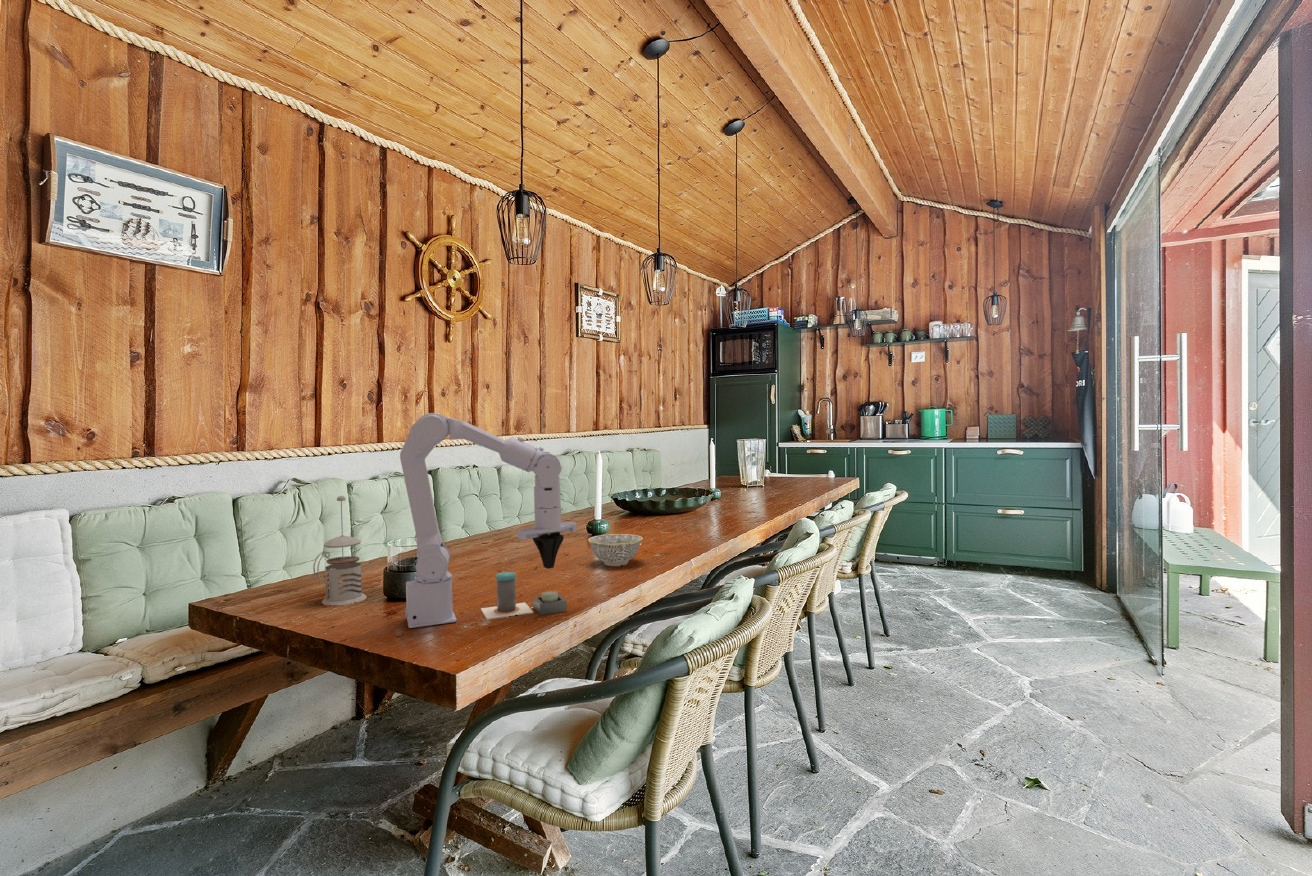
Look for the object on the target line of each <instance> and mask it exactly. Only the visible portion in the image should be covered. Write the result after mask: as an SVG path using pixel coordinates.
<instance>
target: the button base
mask: <svg viewBox="0 0 1312 876" xmlns="http://www.w3.org/2000/svg"><path fill="white" fill-rule="evenodd" d="M532 599H533V601H532V602H533V603H532V604H533V606H532V607H533V609H534V610H535V612H537V614H539V616H543V615H551V614H558V613H564V612H565V613H566V612H567V611H568V610H567V607H568V605H567V604H568V603H567V599H566V598H565V597H563V596H562V595H561V594H559V593H558V601H553V602H545V603H542V595H541V596H534V597H533V598H532Z"/></svg>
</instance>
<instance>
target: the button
mask: <svg viewBox="0 0 1312 876" xmlns="http://www.w3.org/2000/svg"><path fill="white" fill-rule="evenodd" d="M558 594H559V593H558V591H551V590H550V591H544V592H541V596H542V603H545V602H553V601H558Z"/></svg>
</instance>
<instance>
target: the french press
mask: <svg viewBox="0 0 1312 876" xmlns="http://www.w3.org/2000/svg"><path fill="white" fill-rule="evenodd" d="M346 500H347V499H346V497H345V496H344V495H338V496H337V497H336V501H337V502H340V518H341V526H343V506H342V505H343V501H346ZM343 529H344V528H343V527H341V535H340V536H336V537H333V538H331V539H329V540H327V541H326V542H325V543H323V546H324V548H326V549H327V548H328V549H334V548H336V549H337V548H341V551H342V553H341V554H342V556H336V557H332V558H330V555H331V553H330V552H329V551H322V552H320V553H318V555H317V556H316V558H315V560H314V562H313V567H312V568H313V574H314V576H315V579H317V581H319V582H321V583H324V584H325V597H324V599H323V600H322V601H321V604H322V603H323V604H322V605H324V606H329V605H332V606H333V605H337V607H338V606H345V605H351V603H352V604H355V603H354V602H357V603H360V602H362V601H365V600H366V599H367V595H366V594H364V592H362V591H363V589H362V585H363V584H362V582H363V581H362V563H361V562H358V561H360V557H359V556H355V555H352V556H351V555H350V556H349V555H347V556H344V548H348V547H353V546H357V545H360V544H361V542H362V540H361V539H359V538H357V537H353V536H350V535H343V534H344V533H343ZM323 553H324V554H323ZM327 554H328V555H327ZM320 555H321V556H320ZM319 557H320V558H319ZM323 557H325V558H327V560H326V564H328V565H326V566H325V568H324V571H325V573H324V574H325V580H324V579H323V578H321V576H320V571H319V570H320V569H319V568H320V567H319V566H320V564H321V563H320V562H321V561H322V559H323ZM318 558H319V559H318ZM328 558H329V559H328ZM317 560H318V563H317ZM316 563H317V568H315V567H316ZM316 569H317V570H316ZM316 571H317V573H316ZM341 587H342V588H341Z"/></svg>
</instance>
